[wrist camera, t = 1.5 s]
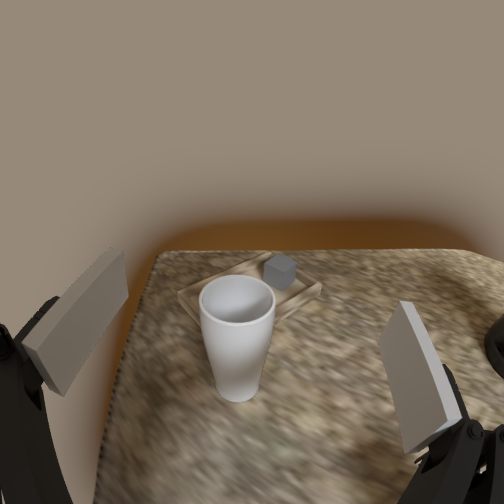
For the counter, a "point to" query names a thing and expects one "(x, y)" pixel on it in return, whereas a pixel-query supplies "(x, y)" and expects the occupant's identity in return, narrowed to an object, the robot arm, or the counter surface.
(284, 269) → the cube
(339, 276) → the counter surface
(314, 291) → the tray
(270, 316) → the drinking glass
